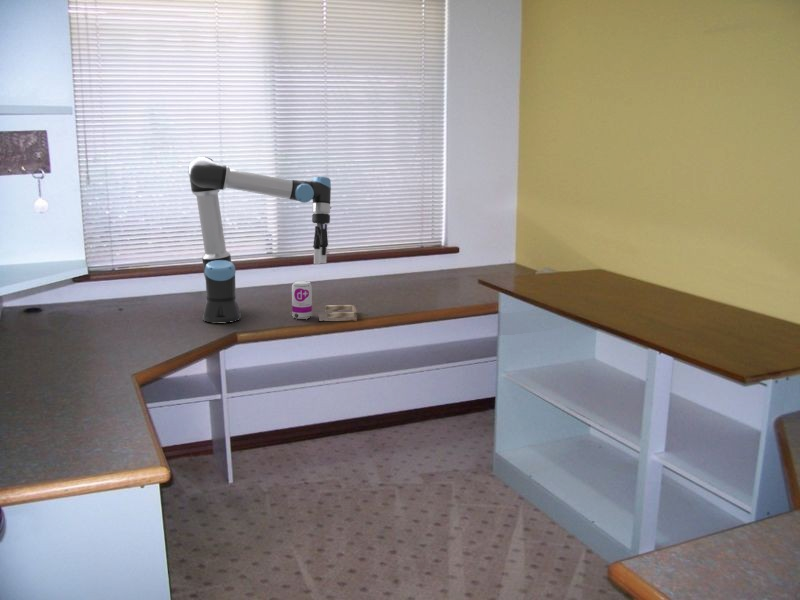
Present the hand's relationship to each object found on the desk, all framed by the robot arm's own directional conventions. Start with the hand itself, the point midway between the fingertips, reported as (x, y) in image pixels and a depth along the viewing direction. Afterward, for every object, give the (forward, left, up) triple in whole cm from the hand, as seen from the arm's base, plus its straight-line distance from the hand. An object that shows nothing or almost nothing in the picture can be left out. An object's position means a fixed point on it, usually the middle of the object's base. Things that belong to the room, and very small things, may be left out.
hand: (319, 263), depth 321 cm
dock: (+13, -4, -20) cm, 25 cm away
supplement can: (+3, -14, -21) cm, 25 cm away
